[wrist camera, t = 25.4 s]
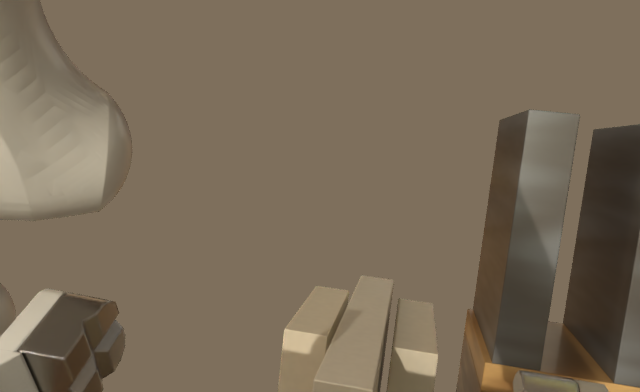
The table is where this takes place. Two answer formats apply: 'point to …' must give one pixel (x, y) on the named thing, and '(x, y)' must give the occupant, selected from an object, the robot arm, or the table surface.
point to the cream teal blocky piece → (321, 324)
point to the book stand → (542, 254)
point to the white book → (358, 341)
